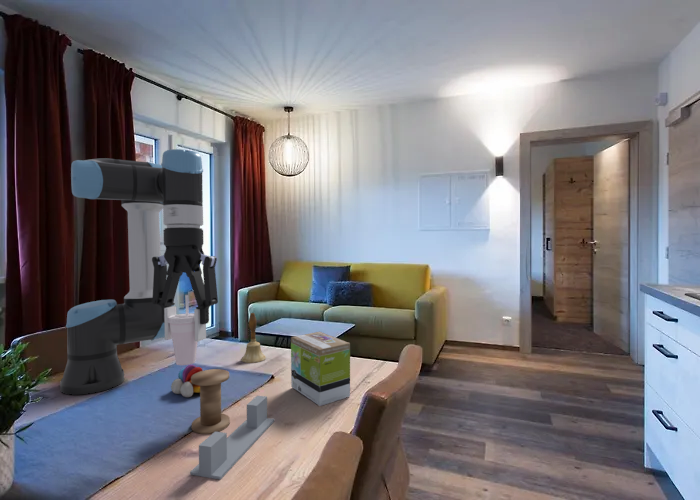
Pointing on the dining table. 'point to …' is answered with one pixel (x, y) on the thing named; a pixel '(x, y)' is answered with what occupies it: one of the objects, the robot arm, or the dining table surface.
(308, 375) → the tea box
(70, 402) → the dining table surface
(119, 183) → the robot arm
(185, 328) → the smoothie
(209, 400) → the bobbin
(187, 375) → the rainbow toy
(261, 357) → the hand bell
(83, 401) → the dining table surface
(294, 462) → the dining table surface
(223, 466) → the board with upright blocks
